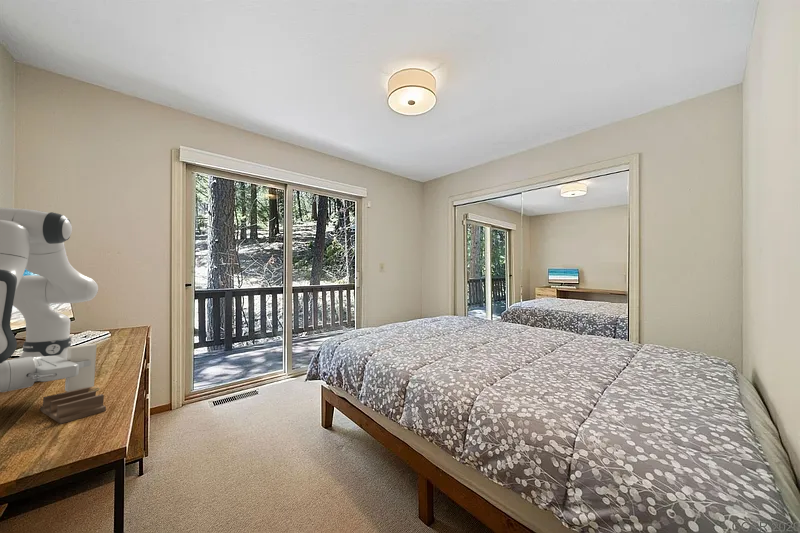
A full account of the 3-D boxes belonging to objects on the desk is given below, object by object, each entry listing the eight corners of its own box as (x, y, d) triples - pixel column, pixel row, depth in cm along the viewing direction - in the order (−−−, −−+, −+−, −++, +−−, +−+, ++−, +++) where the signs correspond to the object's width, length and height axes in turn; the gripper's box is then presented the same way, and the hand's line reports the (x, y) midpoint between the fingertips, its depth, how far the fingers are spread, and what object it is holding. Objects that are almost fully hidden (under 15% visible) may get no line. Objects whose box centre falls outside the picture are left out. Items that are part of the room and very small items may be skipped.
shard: (64, 404, 92) (64, 398, 92) (40, 403, 92) (40, 397, 92) (100, 391, 102) (101, 385, 102) (79, 390, 103) (79, 385, 103)
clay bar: (64, 390, 96) (67, 347, 97) (90, 384, 102) (92, 343, 102) (68, 392, 95) (71, 348, 95) (94, 386, 100) (96, 344, 101)
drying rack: (40, 410, 86) (41, 396, 86) (83, 399, 94) (84, 386, 94) (60, 423, 79) (61, 407, 79) (105, 410, 87) (106, 396, 87)
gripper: (34, 367, 83) (101, 356, 95) (13, 357, 92) (76, 348, 105) (32, 390, 83) (99, 376, 95) (11, 377, 92) (75, 366, 104)
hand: (87, 361), depth 100 cm, fingers closed on clay bar, 3 cm apart
